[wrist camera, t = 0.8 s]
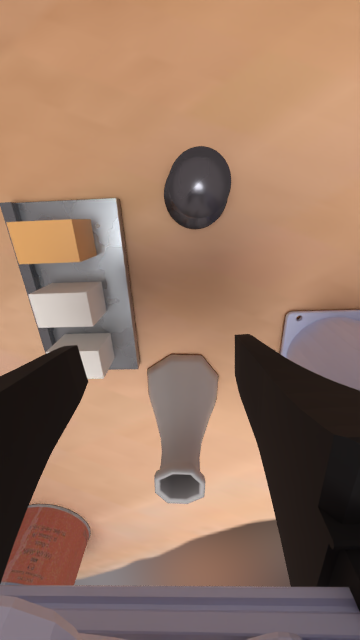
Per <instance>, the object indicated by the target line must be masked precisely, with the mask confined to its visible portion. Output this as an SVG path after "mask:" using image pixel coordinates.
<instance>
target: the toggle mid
mask: <svg viewBox="0 0 360 640" xmlns="http://www.w3.org/2000/svg"><path fill="white" fill-rule="evenodd" d="M28 296H29V299H30V302H31V305H32V309H33V312H34V315H35V318H36V322H37V325H38V328H51V327H92V326H94V325H95V324H96V323H97V322H98V320H99V319H100V318H101V317H102V316H103V315H104V314H105V312H106V305H105V299H104V294H103V288H102V282H73V283H51V284H49V285H47V286H45V287H43V288H40V289H38V290H36V291H34V292H32V293H30V294H28Z"/></svg>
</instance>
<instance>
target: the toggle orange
mask: <svg viewBox="0 0 360 640" xmlns="http://www.w3.org/2000/svg"><path fill="white" fill-rule="evenodd" d="M6 223H7V227H8V230H9V233H10V237H11V240H12V243H13V246H14V250H15V253H16V256H17V259H18V263H19V264H41V263H68V262H82V261H84V260H87V259H89V258H92V257H94V256H97V253H96V248H95V242H94V236H93V230H92V225H91V219H66V220H43V221H21V222H6Z"/></svg>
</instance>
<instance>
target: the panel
mask: <svg viewBox="0 0 360 640" xmlns="http://www.w3.org/2000/svg"><path fill="white" fill-rule="evenodd" d="M0 206H1V210H2V213H3V216H4V219H5V223H6V222H21V221H43V220H66V219H91V225H92V230H93V236H94V242H95V248H96V253H97V256H94V257H92V258H89V259H87V260H84V261H82V262H68V263H41V264H19V263H18V265H19V268H20V272H21V275H22V278H23V281H24V285H25V288H26V291H27V294H30V293H32V292H34V291H36V290H38V289H40V288H43V287H45V286H47V285H49V284H51V283H73V282H102V288H103V294H104V299H105V305H106V312H105V314H104V315H103V316H102V317H101V318H100V319H99V320H98V322H97V323H96V324H95V325H94V326H92V327H51V328H38V330H39V334H40V337H41V340H42V343H43V347H44V350H45V353H46V351H47V350H48V349H49V348H50V347H52V346H53V345H54V344H55V343H56V342H57V341H58V340H59V339H60V338H61V337H62V336H63V335H64V334H87V333H110V334H111V340H112V345H113V351H114V357H115V358H114V360H113V362H112V364H111V366H110V368H109V370H111V369H138V368H139V365H140V358H139V350H138V342H137V334H136V326H135V318H134V310H133V302H132V294H131V286H130V278H129V270H128V262H127V254H126V246H125V238H124V230H123V222H122V214H121V206H120V199H117V198H110V199H89V200H68V201H47V202H26V203H12V202H8V203H0ZM6 226H7V223H6ZM7 229H8V227H7ZM8 232H9V230H8ZM9 236H10V233H9ZM10 239H11V237H10ZM11 242H12V240H11ZM12 246H13V243H12ZM13 249H14V246H13ZM14 252H15V250H14ZM15 255H16V253H15ZM16 259H17V256H16ZM17 262H18V259H17ZM28 298H29V296H28ZM29 301H30V299H29ZM30 304H31V302H30ZM31 308H32V305H31ZM32 311H33V309H32ZM33 314H34V312H33ZM34 317H35V315H34ZM35 321H36V318H35ZM36 324H37V322H36ZM37 327H38V325H37Z"/></svg>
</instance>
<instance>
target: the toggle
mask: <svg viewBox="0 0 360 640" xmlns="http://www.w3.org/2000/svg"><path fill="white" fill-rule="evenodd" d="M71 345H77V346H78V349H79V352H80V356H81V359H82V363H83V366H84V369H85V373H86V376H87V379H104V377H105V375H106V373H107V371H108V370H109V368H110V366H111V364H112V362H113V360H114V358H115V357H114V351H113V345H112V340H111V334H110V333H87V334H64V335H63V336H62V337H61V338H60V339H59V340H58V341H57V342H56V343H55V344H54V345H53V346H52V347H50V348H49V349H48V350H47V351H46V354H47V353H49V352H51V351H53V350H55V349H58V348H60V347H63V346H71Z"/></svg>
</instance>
